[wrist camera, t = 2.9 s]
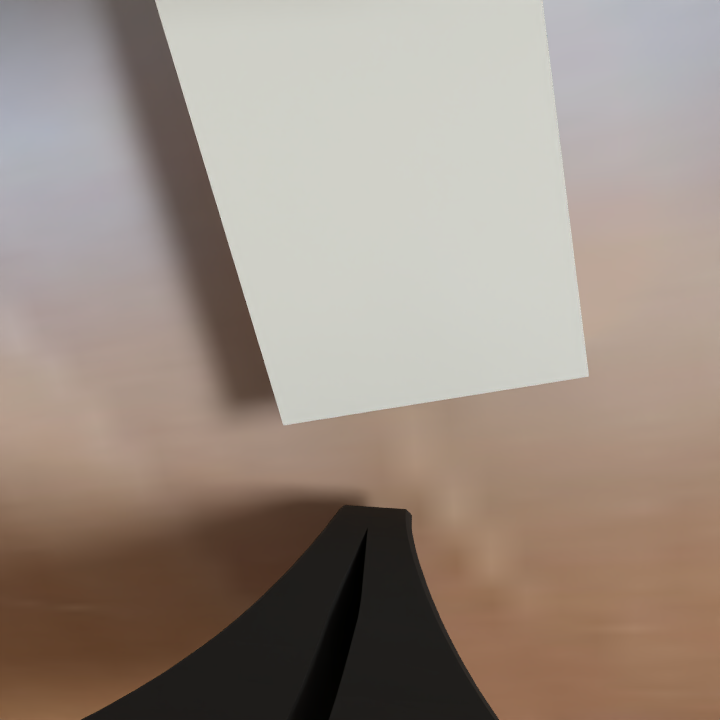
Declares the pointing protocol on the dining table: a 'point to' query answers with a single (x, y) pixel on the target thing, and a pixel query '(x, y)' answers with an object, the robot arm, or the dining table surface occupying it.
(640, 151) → the dining table surface
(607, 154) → the dining table surface
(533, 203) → the tile
